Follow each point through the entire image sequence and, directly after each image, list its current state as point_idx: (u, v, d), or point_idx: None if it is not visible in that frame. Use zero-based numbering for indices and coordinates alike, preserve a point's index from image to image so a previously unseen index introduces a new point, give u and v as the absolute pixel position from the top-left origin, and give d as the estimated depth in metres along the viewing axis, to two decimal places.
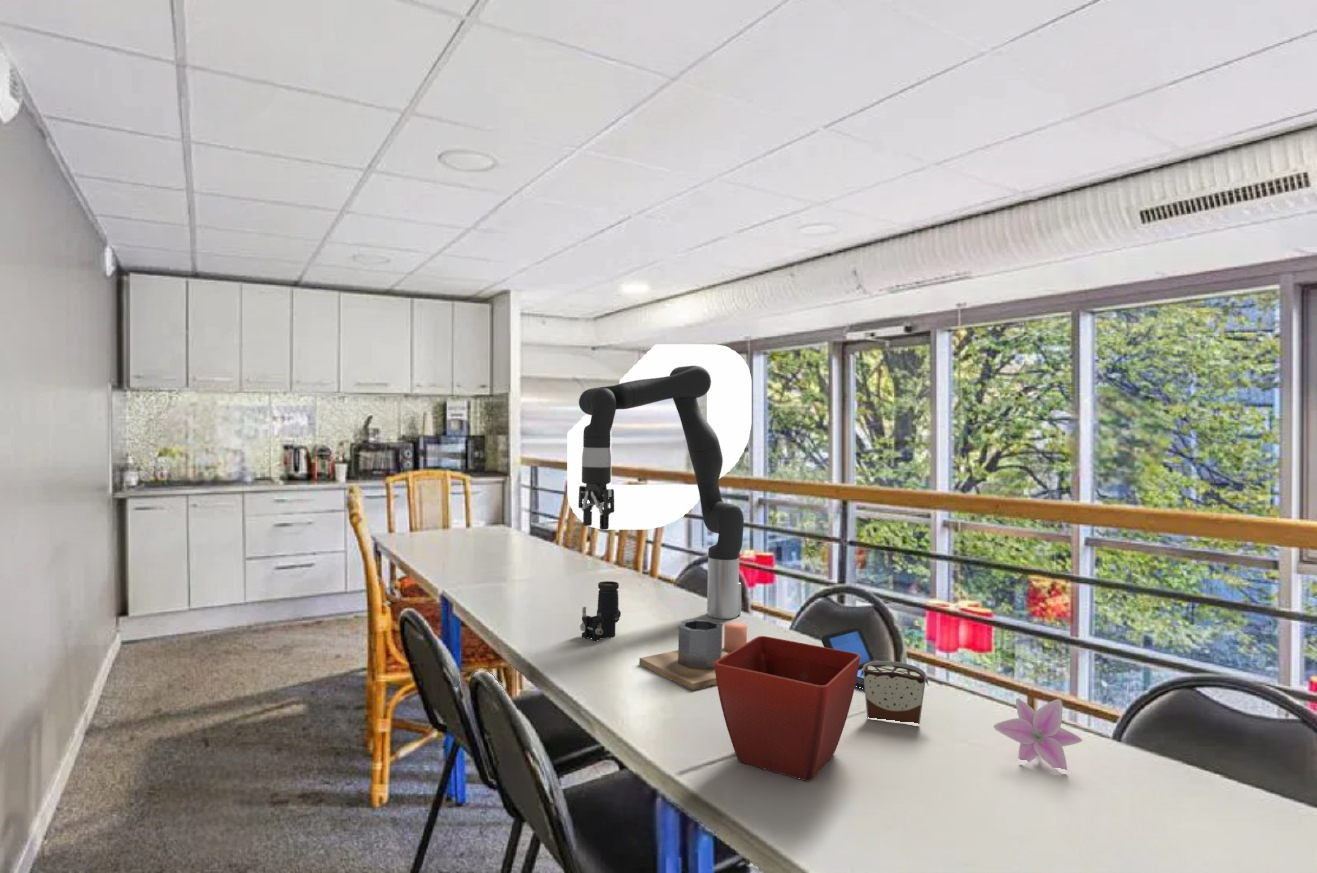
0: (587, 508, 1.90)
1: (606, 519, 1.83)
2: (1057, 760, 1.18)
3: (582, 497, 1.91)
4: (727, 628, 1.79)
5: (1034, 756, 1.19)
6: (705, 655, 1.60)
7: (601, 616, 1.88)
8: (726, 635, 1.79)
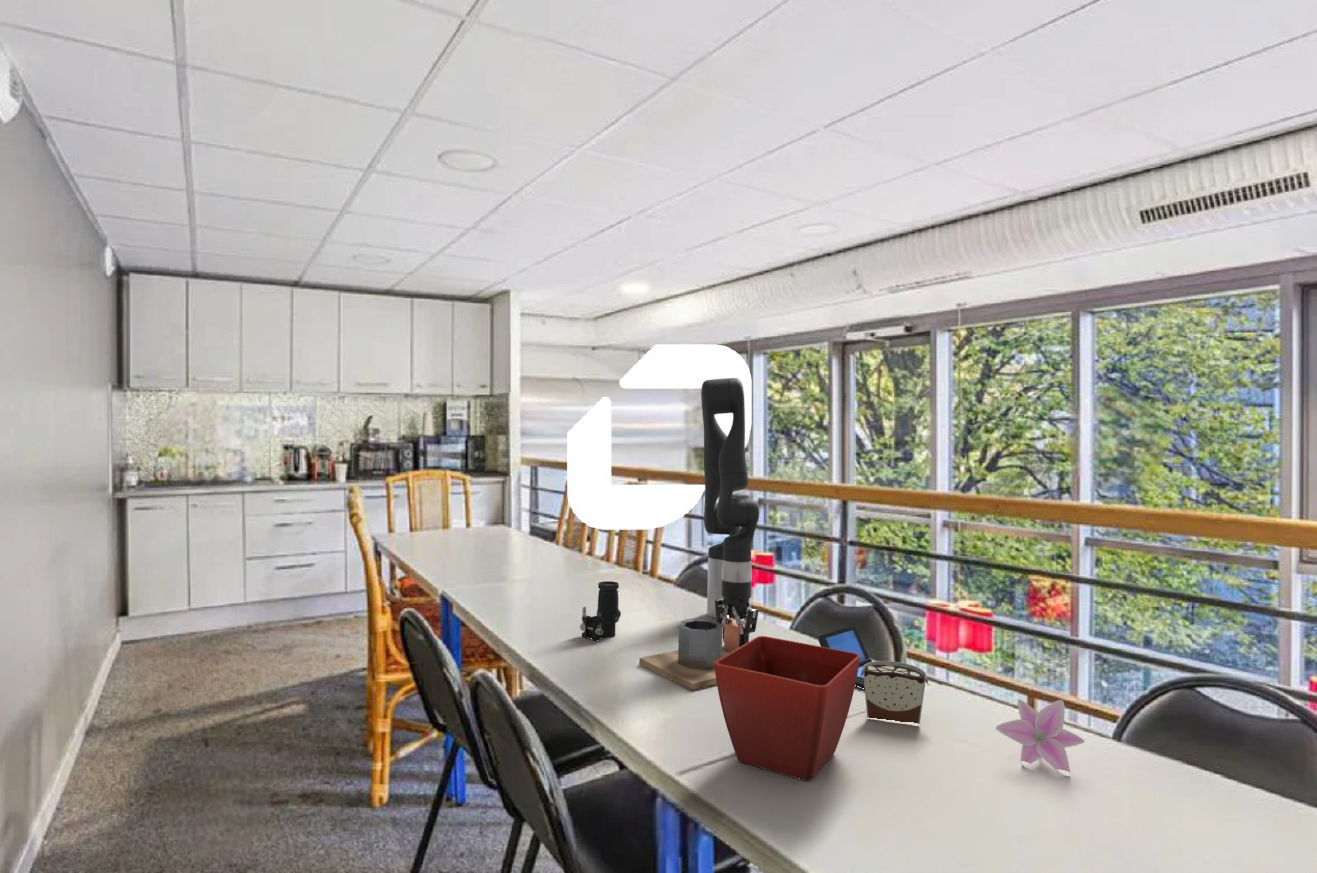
0: None
1: (746, 638, 1.77)
2: (1060, 762, 1.17)
3: (720, 611, 1.84)
4: (727, 628, 1.79)
5: (1036, 757, 1.19)
6: (705, 655, 1.60)
7: (601, 616, 1.88)
8: (726, 635, 1.79)
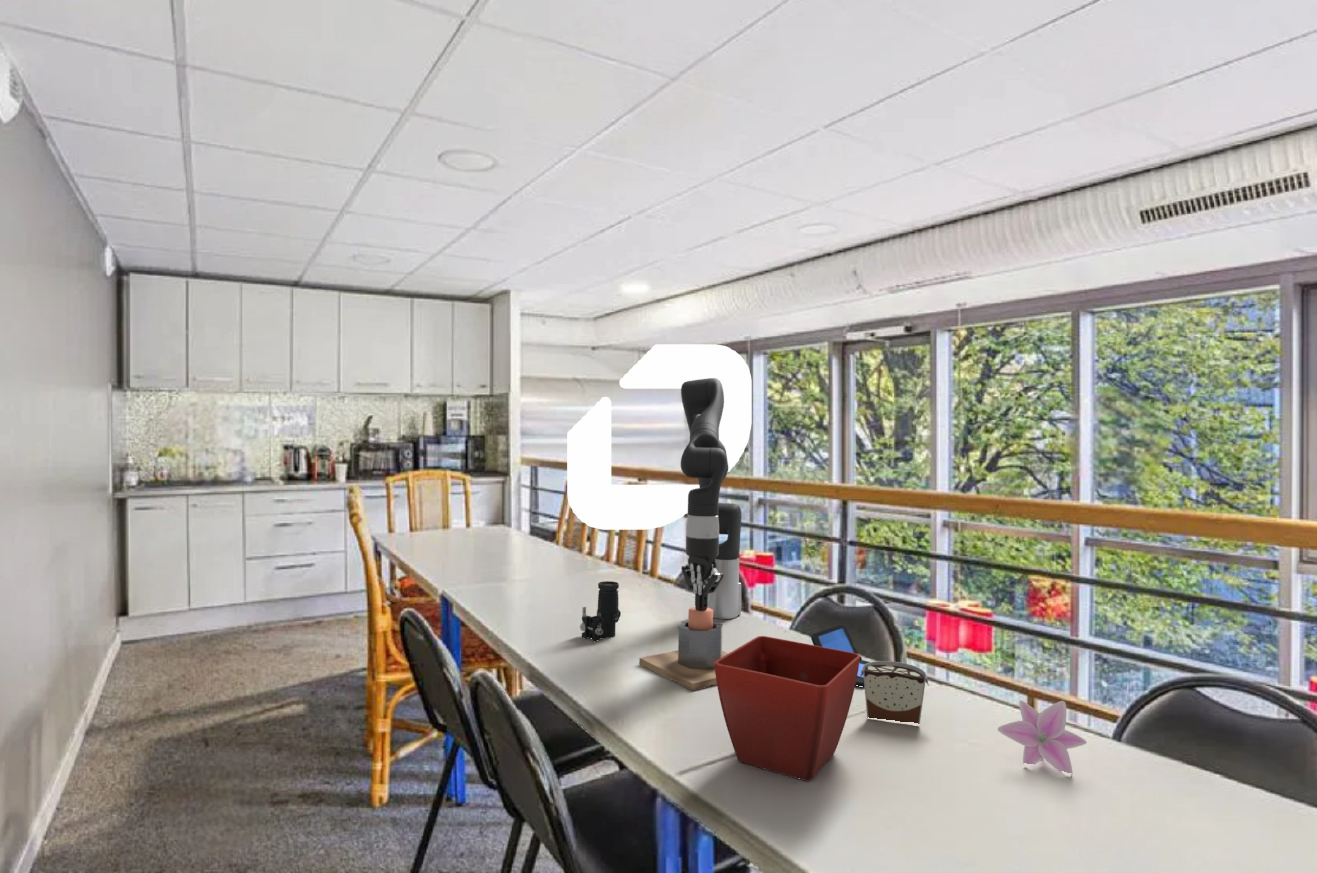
0: None
1: (705, 600, 1.64)
2: (1062, 763, 1.17)
3: (689, 576, 1.67)
4: (691, 613, 1.63)
5: (1039, 759, 1.18)
6: (705, 655, 1.60)
7: (601, 616, 1.88)
8: (690, 620, 1.63)
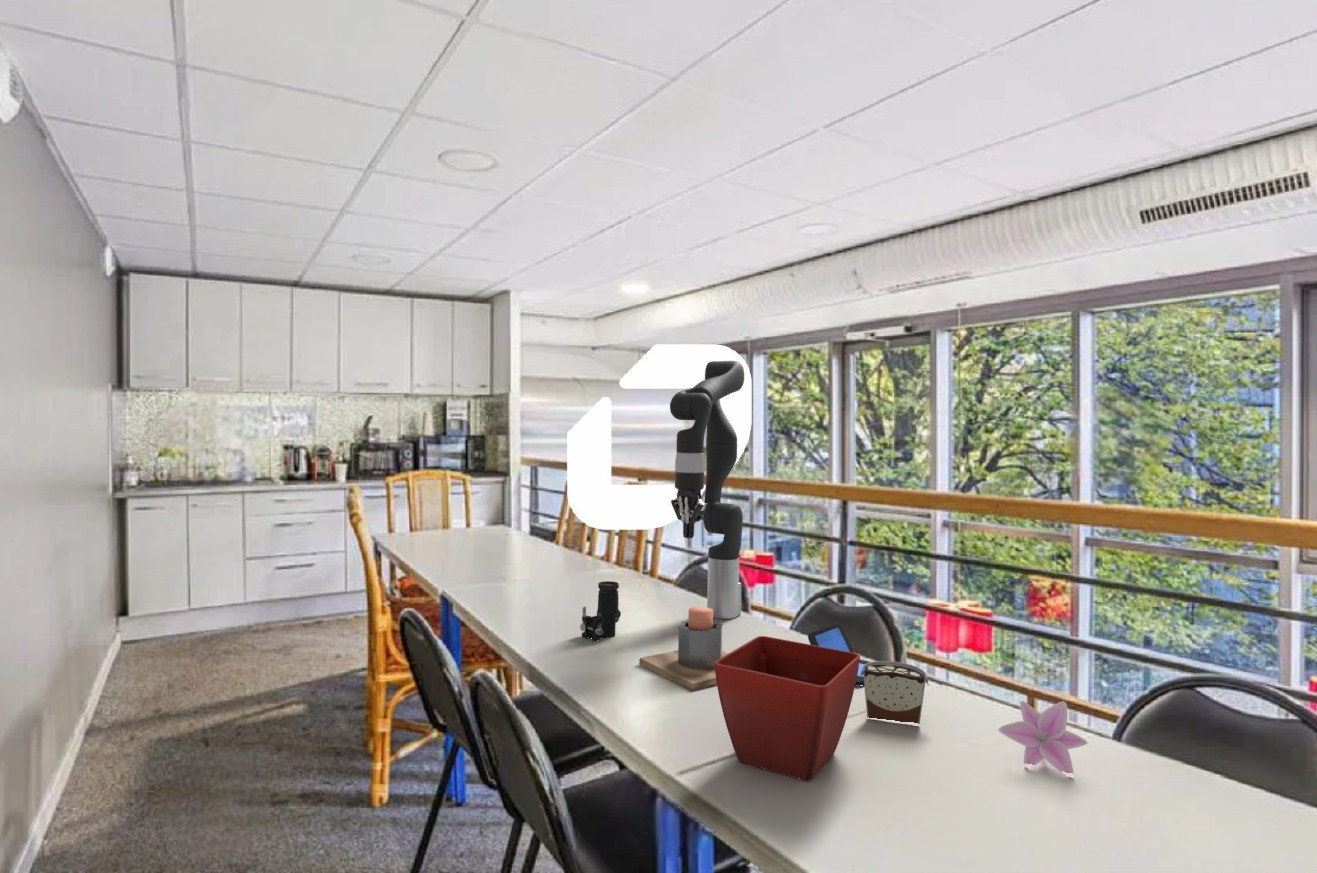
0: None
1: (692, 528, 1.84)
2: (1063, 763, 1.17)
3: (678, 508, 1.87)
4: (691, 613, 1.63)
5: (1040, 759, 1.18)
6: (705, 655, 1.60)
7: (601, 616, 1.88)
8: (690, 620, 1.63)
